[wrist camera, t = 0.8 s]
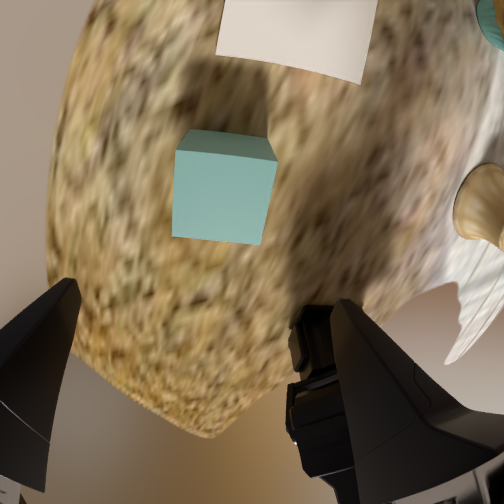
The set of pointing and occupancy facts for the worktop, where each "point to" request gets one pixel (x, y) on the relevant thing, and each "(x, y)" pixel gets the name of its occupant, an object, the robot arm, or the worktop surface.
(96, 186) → the worktop surface
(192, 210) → the cube
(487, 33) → the cupcake
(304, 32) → the tile
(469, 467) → the robot arm
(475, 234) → the hand bell
